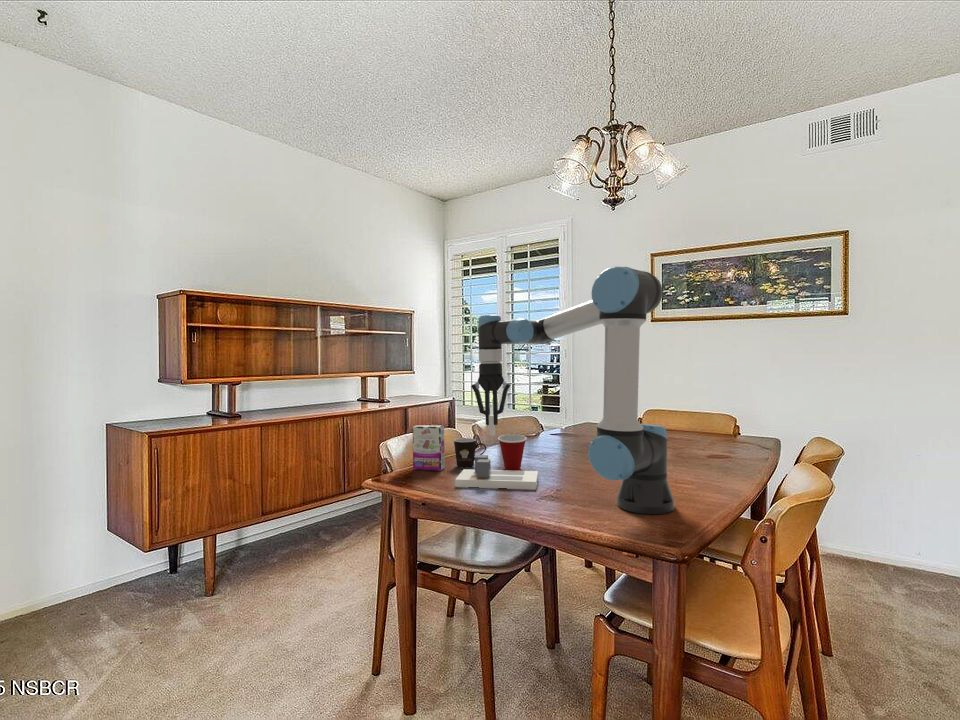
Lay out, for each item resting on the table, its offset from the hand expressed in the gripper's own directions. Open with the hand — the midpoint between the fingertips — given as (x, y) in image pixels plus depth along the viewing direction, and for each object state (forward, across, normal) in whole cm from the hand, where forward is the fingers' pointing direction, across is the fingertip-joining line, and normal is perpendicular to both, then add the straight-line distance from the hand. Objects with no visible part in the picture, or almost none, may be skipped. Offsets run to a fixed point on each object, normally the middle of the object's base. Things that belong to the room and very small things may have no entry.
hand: (492, 435), depth 162 cm
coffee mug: (+16, +13, -26) cm, 33 cm away
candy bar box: (+16, +27, -20) cm, 37 cm away
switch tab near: (+14, +3, 0) cm, 14 cm away
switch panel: (+17, -1, -4) cm, 17 cm away
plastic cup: (+17, -4, -24) cm, 29 cm away
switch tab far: (+13, +5, -7) cm, 16 cm away
